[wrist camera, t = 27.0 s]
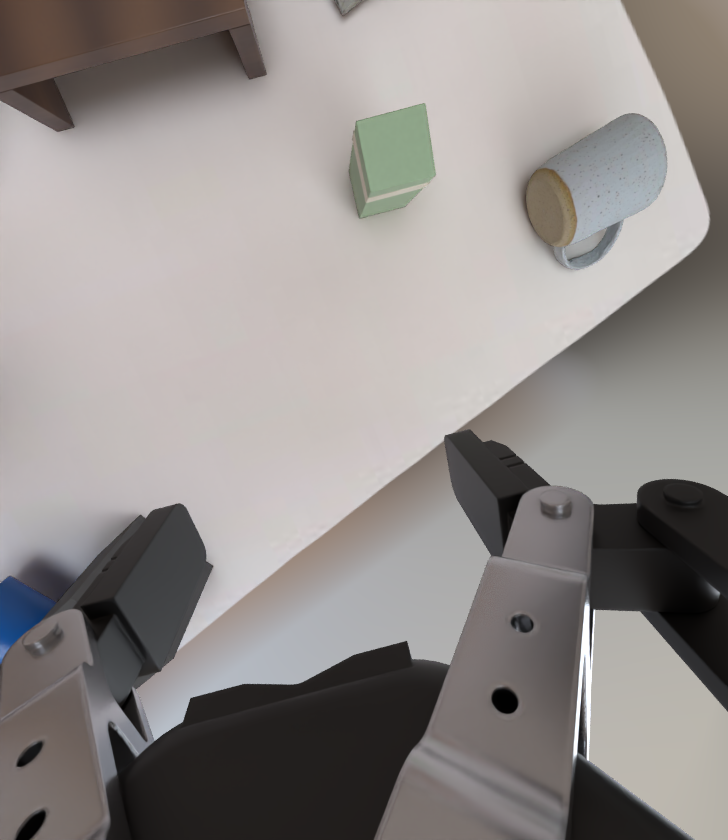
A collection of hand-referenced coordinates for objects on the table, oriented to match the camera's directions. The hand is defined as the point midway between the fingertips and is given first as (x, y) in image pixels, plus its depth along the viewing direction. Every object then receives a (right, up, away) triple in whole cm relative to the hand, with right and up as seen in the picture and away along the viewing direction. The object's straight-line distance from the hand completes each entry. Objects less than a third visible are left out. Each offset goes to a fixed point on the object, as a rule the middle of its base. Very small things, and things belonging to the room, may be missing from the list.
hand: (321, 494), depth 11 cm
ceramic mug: (+21, +23, +25) cm, 40 cm away
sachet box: (+3, +24, +23) cm, 33 cm away
